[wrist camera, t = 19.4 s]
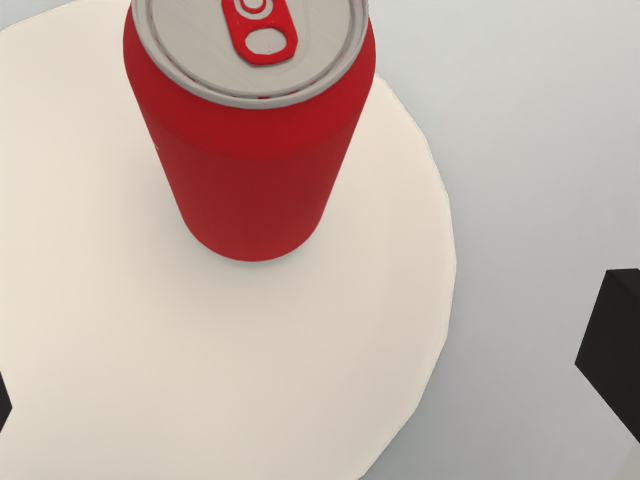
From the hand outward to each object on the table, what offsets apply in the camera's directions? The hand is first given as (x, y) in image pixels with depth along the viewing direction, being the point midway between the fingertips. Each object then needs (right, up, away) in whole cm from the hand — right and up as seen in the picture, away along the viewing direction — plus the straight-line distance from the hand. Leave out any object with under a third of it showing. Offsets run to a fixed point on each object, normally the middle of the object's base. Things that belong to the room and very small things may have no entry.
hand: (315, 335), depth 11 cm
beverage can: (-3, +4, +12) cm, 13 cm away
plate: (-6, +2, +12) cm, 14 cm away
